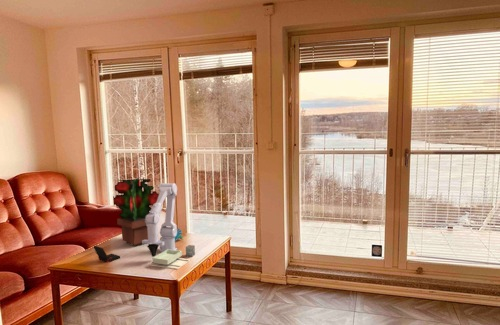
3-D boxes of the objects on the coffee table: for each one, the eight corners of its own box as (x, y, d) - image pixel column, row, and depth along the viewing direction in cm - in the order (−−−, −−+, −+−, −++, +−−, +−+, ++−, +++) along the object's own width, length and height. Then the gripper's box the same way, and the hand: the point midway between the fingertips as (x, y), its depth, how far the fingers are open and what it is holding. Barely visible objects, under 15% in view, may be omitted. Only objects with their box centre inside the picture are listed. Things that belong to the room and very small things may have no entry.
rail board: (149, 265, 193) (149, 263, 193) (163, 256, 206) (163, 255, 206) (177, 269, 187) (177, 267, 187) (190, 260, 200) (190, 258, 200)
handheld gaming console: (120, 258, 206) (120, 242, 205) (102, 265, 196) (101, 248, 195) (111, 255, 211) (110, 240, 211) (93, 261, 201) (92, 245, 201)
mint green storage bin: (152, 264, 192) (152, 257, 191) (167, 255, 206) (167, 249, 206) (167, 266, 188) (167, 259, 188) (182, 257, 202) (181, 250, 202)
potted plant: (115, 243, 235) (112, 180, 231) (143, 235, 252) (140, 176, 248) (132, 250, 221) (128, 182, 217) (161, 241, 237) (158, 178, 233)
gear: (165, 238, 238) (173, 226, 244) (169, 242, 243) (176, 230, 248) (177, 242, 233) (185, 230, 238) (181, 246, 238) (188, 234, 243)
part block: (186, 256, 207) (185, 247, 206) (189, 254, 210) (188, 244, 210) (191, 257, 205) (191, 247, 205) (194, 254, 209) (194, 245, 208)
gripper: (138, 234, 198) (139, 257, 199) (158, 236, 193) (160, 259, 194) (145, 231, 205) (147, 253, 206) (166, 233, 200) (167, 255, 201)
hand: (153, 256), depth 200 cm, fingers closed
